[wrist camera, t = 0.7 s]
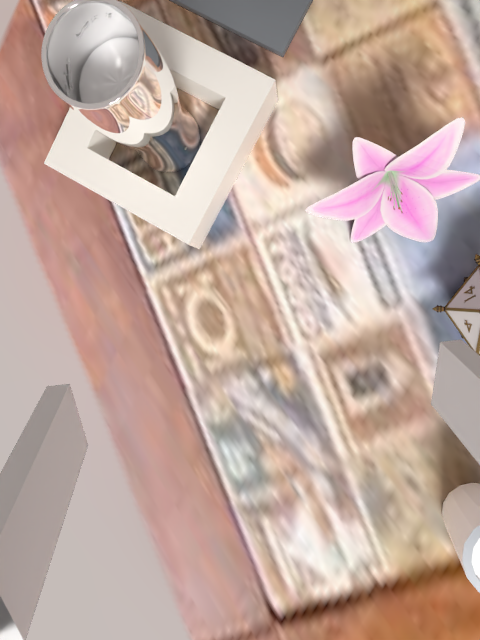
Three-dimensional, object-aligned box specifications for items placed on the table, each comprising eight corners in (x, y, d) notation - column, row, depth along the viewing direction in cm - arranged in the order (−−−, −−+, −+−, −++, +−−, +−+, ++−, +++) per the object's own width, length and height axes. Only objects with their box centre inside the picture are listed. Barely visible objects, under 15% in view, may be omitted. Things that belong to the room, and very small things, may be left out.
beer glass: (146, 188, 41) (58, 129, 26) (124, 118, 41) (22, 19, 26) (214, 162, 40) (162, 86, 25) (191, 90, 40) (126, -30, 25)
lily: (287, 210, 40) (301, 250, 32) (343, 74, 35) (378, 81, 26) (399, 249, 43) (439, 296, 35) (469, 127, 37) (537, 148, 29)
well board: (137, 29, 40) (120, 0, 36) (278, 101, 39) (275, 79, 35) (68, 175, 42) (43, 163, 38) (199, 249, 41) (188, 244, 37)
